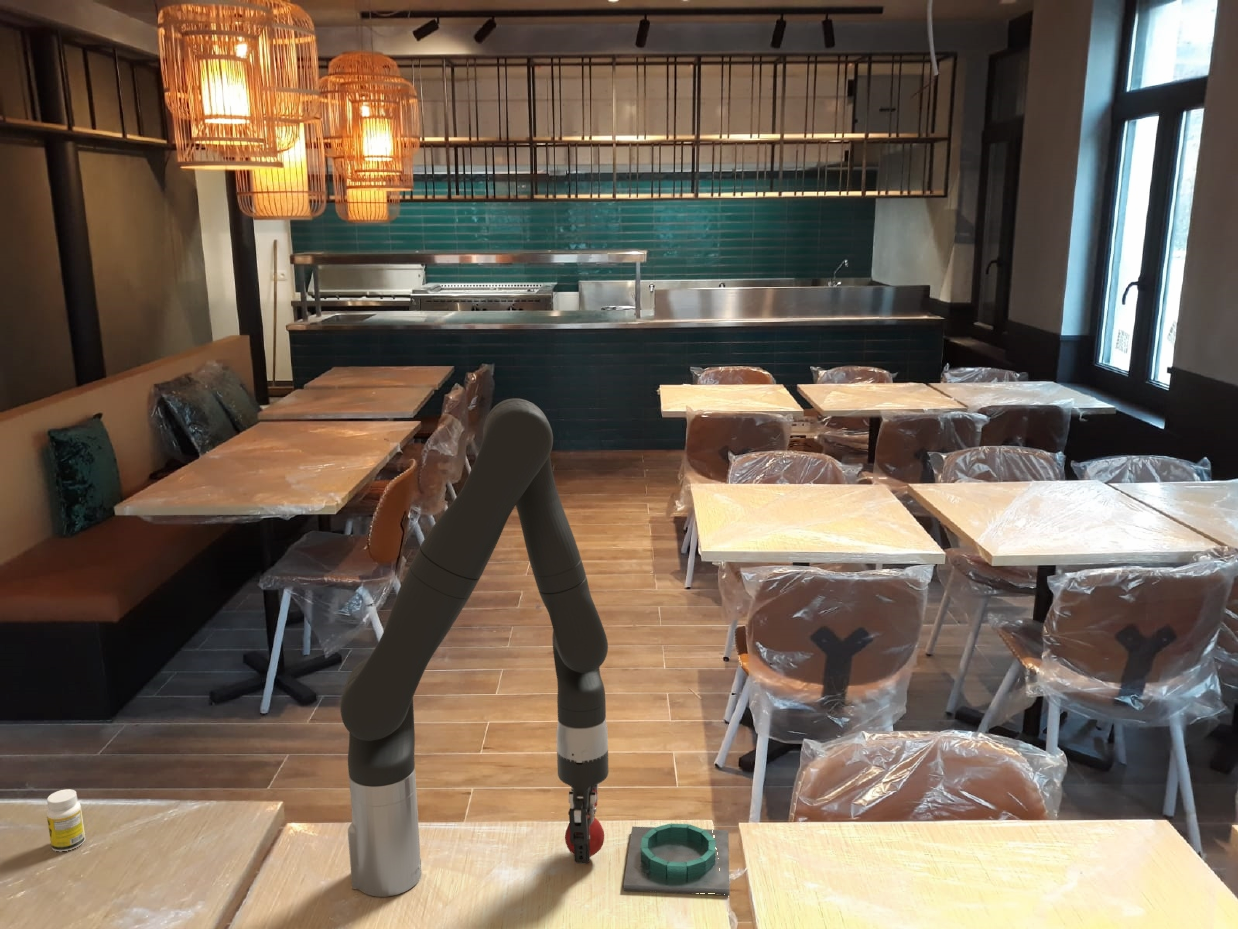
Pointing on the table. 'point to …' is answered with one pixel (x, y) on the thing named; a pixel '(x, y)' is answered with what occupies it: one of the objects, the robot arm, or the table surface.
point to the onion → (595, 839)
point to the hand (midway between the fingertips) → (584, 849)
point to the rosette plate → (678, 860)
